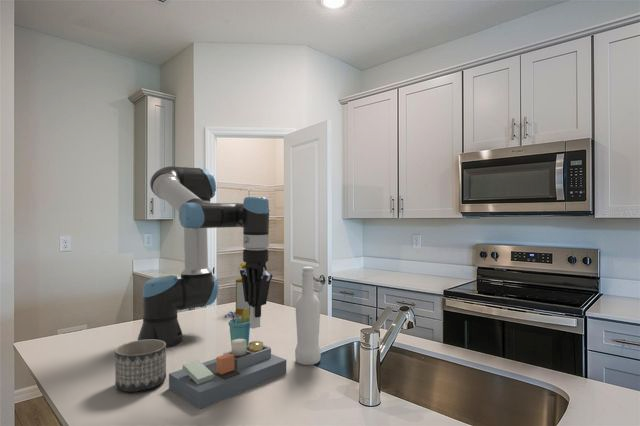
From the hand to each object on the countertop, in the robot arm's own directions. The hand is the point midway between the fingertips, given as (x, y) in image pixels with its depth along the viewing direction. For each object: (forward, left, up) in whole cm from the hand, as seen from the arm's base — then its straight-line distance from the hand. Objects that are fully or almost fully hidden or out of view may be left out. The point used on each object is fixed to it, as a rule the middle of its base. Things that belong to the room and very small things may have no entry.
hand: (255, 327), depth 115 cm
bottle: (+7, +16, -13) cm, 22 cm away
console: (+1, -9, -13) cm, 16 cm away
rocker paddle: (+1, -19, -7) cm, 20 cm away
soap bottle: (-55, +36, -13) cm, 67 cm away
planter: (-15, -27, -13) cm, 34 cm away
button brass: (+1, 0, -8) cm, 8 cm away
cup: (-15, +5, -13) cm, 21 cm away
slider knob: (+3, -13, -8) cm, 16 cm away
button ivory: (+1, -6, -6) cm, 9 cm away
